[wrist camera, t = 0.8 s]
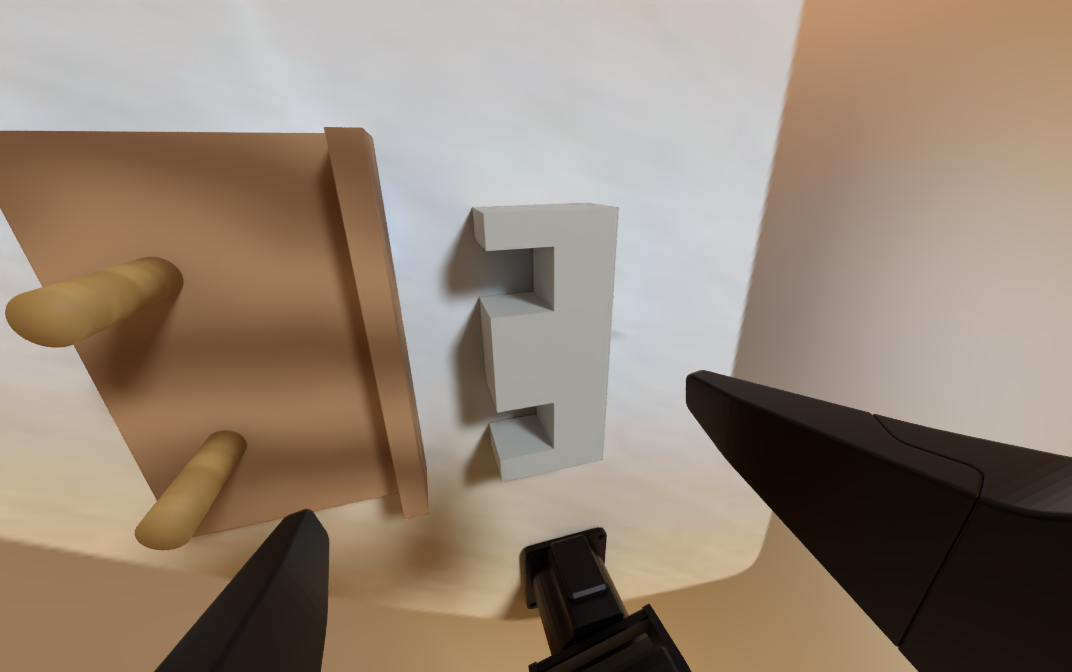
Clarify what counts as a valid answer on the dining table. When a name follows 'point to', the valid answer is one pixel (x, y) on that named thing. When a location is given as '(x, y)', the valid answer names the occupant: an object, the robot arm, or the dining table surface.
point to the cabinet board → (224, 314)
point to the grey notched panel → (550, 334)
